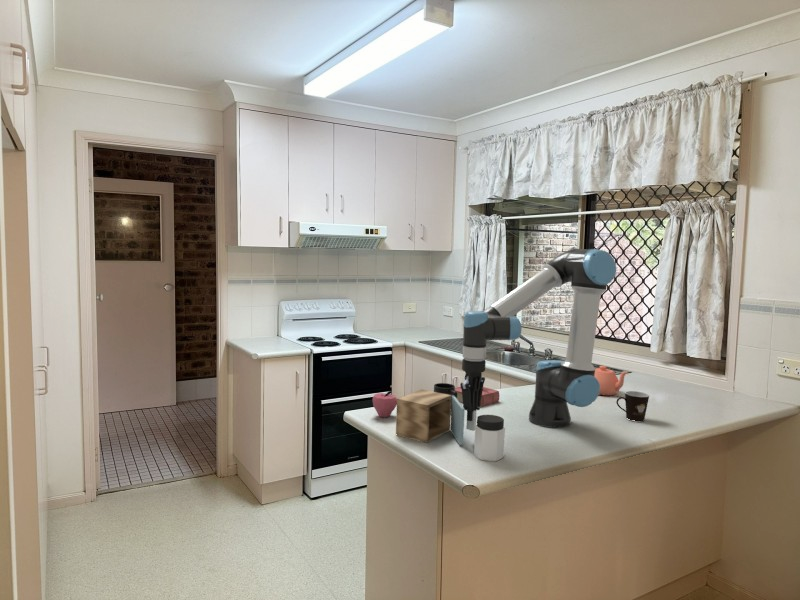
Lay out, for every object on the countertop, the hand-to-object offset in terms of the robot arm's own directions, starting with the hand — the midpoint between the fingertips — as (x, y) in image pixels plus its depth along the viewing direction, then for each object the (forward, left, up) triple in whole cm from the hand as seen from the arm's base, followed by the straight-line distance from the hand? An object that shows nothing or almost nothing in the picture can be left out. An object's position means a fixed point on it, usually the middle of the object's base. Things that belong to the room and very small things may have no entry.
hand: (471, 429), depth 184 cm
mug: (+24, -26, -5) cm, 36 cm away
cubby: (+17, +2, -4) cm, 18 cm away
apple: (+38, -4, -5) cm, 38 cm away
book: (+21, -46, -5) cm, 51 cm away
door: (+6, 0, -4) cm, 7 cm away
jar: (-10, +8, -5) cm, 13 cm away
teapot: (-18, -97, -5) cm, 99 cm away
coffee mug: (-37, -63, -5) cm, 74 cm away
